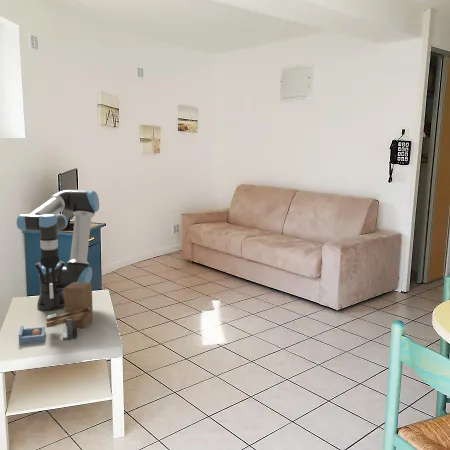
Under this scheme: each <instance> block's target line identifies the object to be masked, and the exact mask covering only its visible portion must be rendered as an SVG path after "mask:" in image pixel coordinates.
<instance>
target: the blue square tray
mask: <svg viewBox="0 0 450 450" xmlns="http://www.w3.org/2000/svg"><path fill="white" fill-rule="evenodd" d="M35 329H38V330H40V332H41V334H40V335H35V336H33V335H32V332H33V331H34V330H35ZM45 338H46V326H39V327H28V328H26V327H24V325H20V328H19V331H18V345H19V346H20V345H28V344H36V343H37V344H38V343H45Z"/></svg>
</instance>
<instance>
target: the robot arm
mask: <svg viewBox="0 0 450 450" xmlns="http://www.w3.org/2000/svg"><path fill="white" fill-rule="evenodd" d="M99 209H100V199H99V195H98V193H97V192H96V191H95V190H89V189H64V190H60V191H58V192H56V193H54V194H52V195H50V197H48V199H47V201H45V202H44V203H42V204H41V205H40V206H38V207H36V208H35V209H34V210H33V211H31V212H30V213H28V214H26V213H24V214H19V215H18V216H17V218H16V227H17V229H19V230H20V231H25V232H26V231H30V232H31V231H33V232H34V231H36V232H38V231H39V242H40V245H39V246H40V247H39V248H40V260H39V262H35V265H34V266H35V268H36V269H37V270H38V277H39V279H38V280H39V296H38V299H37V304H36V305H37V309H38V310H39V311H44V312H49V311H50V312H52V311H58V310H62V309H65V298H64V288H65V287H66V286H68V285H70V284H71V283H73V282H81V283H91V281H92V278H93V269H92V267H91V266H90V263H89V262H88V255H89V253H88V252H89V243H90V234H91V233H90V232H91V223H92V218H94V216H95V215H96V213H97V212H98V211H99ZM63 211H65V212H66V211H67V212H69V211H70V212H71V211H72V214H73V216H74V223H73V232H72V240H71V248H70V249H71V250H70V259H69V260H68V261H67V262H66V265H65V261H62V260H61V259H60V257H59V241H58V240H59V239H58V233H59V232H61V231H64V229H65V228H66V227H67V226H68V223H69V222H68V218H67V216H65V214H62V213H61V212H63ZM58 213H59V214H58Z"/></svg>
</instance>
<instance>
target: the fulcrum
mask: <svg viewBox="0 0 450 450" xmlns="http://www.w3.org/2000/svg"><path fill="white" fill-rule="evenodd" d="M67 313H69V312H67ZM62 337H63V339H62V340H63V341H69V340H77V339H78V329H77V328H76V327H73V322H72V319H67V326H66V328H63V331H62Z"/></svg>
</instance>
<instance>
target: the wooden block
mask: <svg viewBox="0 0 450 450" xmlns="http://www.w3.org/2000/svg"><path fill="white" fill-rule="evenodd" d="M63 292H64V298H65V307H64V314H66V313H67V312H73V311H77V310H81V309H85V308H88V305H90V307H91V311H92V316H90V317H86V318H83V319H79V320H75V321H72V322H73V328H78V329H85V328H86V327H88V326H89V325H90V324H91V323H92V322H93V320H94V315H93V314H94V313H93V312H94V311H93V310H94V309H93V285H92V283H91V282H90V283H81V282H73V283H71V284H70V285H68V286H66V287H65V288H63ZM65 327H67V323H65Z"/></svg>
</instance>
